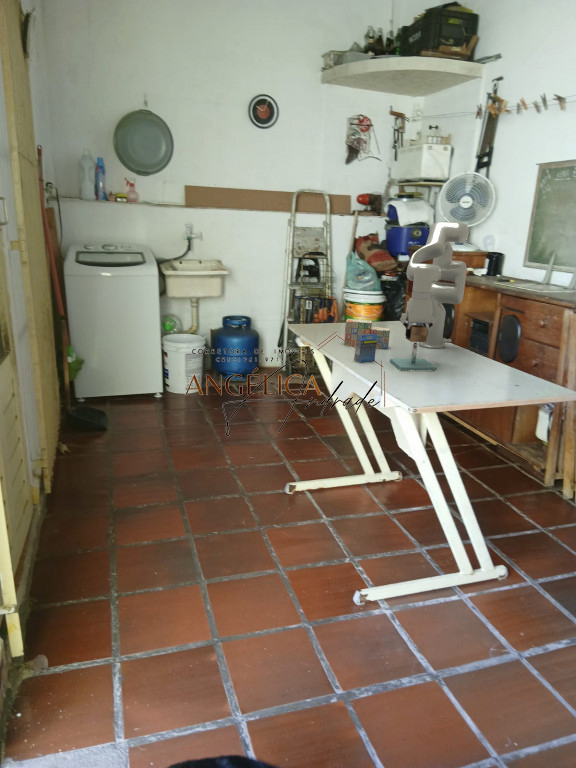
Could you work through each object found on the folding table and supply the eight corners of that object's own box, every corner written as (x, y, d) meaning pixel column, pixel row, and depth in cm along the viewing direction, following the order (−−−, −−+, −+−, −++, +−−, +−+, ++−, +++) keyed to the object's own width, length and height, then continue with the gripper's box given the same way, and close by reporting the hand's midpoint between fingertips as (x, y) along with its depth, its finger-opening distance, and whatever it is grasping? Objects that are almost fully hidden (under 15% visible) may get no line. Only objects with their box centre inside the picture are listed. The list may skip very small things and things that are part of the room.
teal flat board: (424, 361, 247) (424, 358, 247) (436, 370, 234) (437, 367, 234) (389, 361, 245) (390, 358, 244) (400, 370, 231) (401, 367, 231)
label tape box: (369, 358, 249) (372, 331, 245) (375, 360, 245) (377, 333, 241) (353, 360, 244) (355, 333, 241) (359, 362, 241) (361, 335, 237)
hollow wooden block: (420, 338, 239) (421, 324, 237) (426, 342, 233) (427, 328, 231) (405, 338, 238) (407, 324, 236) (411, 341, 232) (412, 327, 230)
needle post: (414, 362, 240) (416, 342, 237) (416, 363, 238) (418, 343, 235) (410, 362, 240) (412, 342, 237) (411, 363, 238) (414, 343, 235)
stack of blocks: (388, 346, 273) (391, 322, 269) (387, 349, 267) (390, 324, 263) (345, 342, 277) (347, 318, 273) (343, 345, 271) (345, 320, 267)
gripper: (437, 295, 235) (431, 336, 240) (398, 294, 232) (393, 335, 237) (444, 297, 228) (438, 340, 233) (404, 296, 225) (399, 339, 230)
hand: (416, 337), depth 235 cm, fingers closed on hollow wooden block, 6 cm apart
